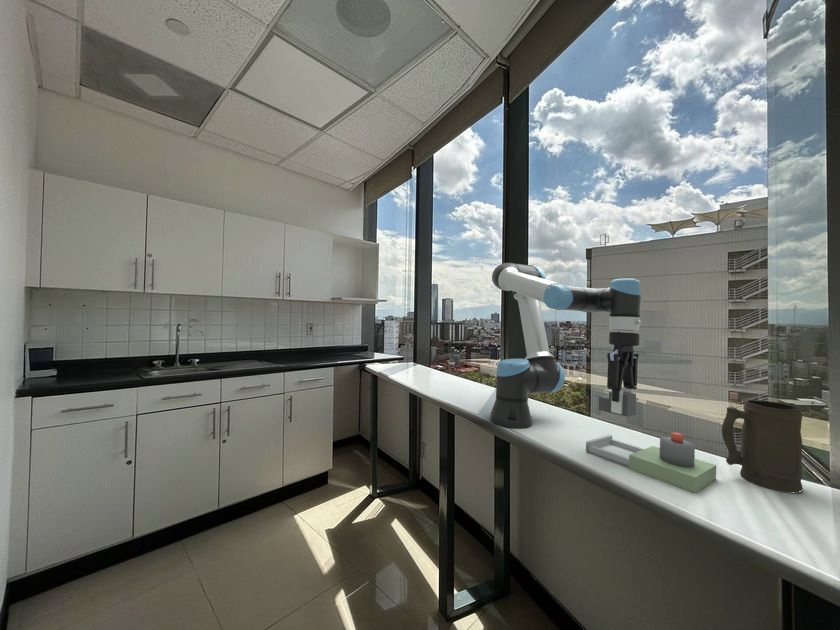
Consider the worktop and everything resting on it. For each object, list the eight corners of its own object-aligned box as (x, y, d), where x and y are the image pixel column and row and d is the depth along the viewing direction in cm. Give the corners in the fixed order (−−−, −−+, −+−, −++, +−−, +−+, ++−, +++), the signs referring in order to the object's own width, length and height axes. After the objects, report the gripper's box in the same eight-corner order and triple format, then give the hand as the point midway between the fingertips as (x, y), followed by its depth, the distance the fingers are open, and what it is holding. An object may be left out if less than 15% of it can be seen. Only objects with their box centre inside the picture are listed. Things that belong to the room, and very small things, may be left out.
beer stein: (775, 474, 87) (771, 398, 87) (821, 495, 76) (816, 409, 76) (713, 473, 88) (709, 398, 89) (749, 493, 77) (744, 408, 78)
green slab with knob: (584, 451, 96) (586, 416, 97) (609, 443, 104) (610, 410, 104) (694, 492, 75) (696, 446, 75) (715, 479, 82) (717, 437, 82)
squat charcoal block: (598, 410, 98) (598, 390, 98) (607, 408, 101) (607, 388, 101) (627, 416, 91) (627, 395, 92) (635, 414, 94) (636, 393, 94)
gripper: (622, 331, 87) (619, 419, 87) (652, 333, 97) (650, 411, 97) (594, 330, 94) (591, 411, 93) (625, 331, 104) (623, 405, 103)
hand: (621, 411), depth 95 cm, fingers closed on squat charcoal block, 5 cm apart
